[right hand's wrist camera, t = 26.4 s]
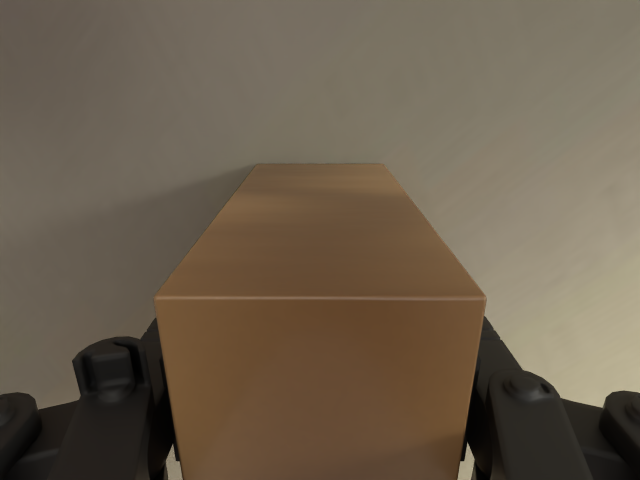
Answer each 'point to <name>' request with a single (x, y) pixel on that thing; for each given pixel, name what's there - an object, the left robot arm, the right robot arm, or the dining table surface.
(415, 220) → the block
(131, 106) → the dining table surface
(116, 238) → the dining table surface
